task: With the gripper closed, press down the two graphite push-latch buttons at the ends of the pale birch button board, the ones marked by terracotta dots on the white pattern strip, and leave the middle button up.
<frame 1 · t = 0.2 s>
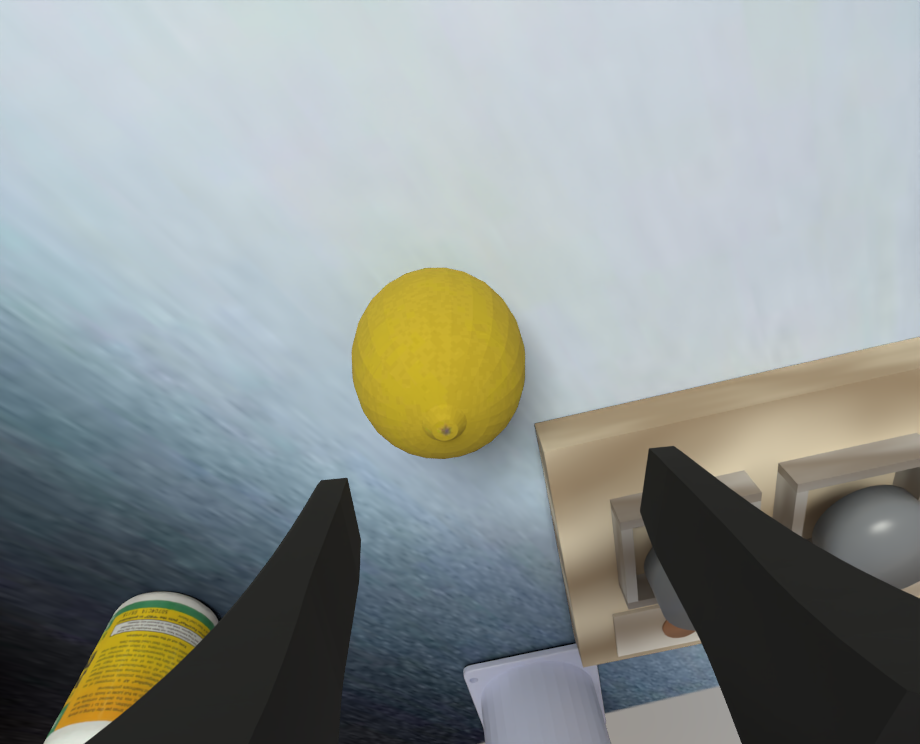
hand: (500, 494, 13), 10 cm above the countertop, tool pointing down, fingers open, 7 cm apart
button mid: (879, 540, 23), point 5 cm above the countertop, slide at 0.0 cm
supplement bottle: (171, 617, 29), on the countertop
lemon: (433, 306, 21), on the countertop
button 1: (703, 577, 23), point 5 cm above the countertop, slide at 0.0 cm
button board: (807, 490, 28), on the countertop
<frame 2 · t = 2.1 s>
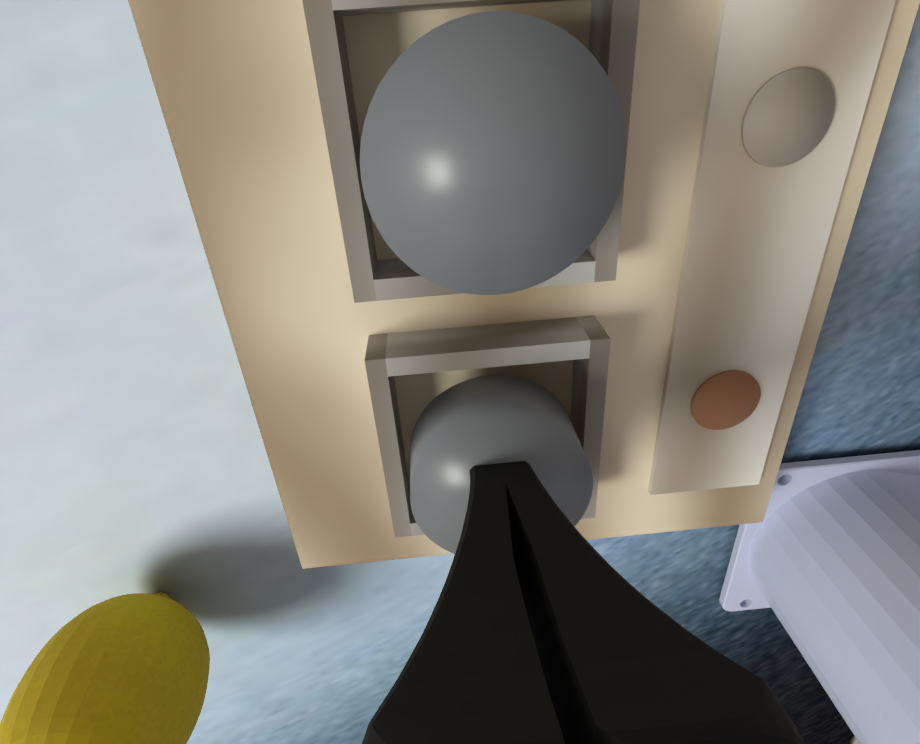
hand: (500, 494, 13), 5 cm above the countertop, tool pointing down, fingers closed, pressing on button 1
button mid: (487, 160, 10), point 5 cm above the countertop, slide at 0.0 cm
lemon: (164, 591, 22), on the countertop
button 1: (496, 469, 14), point 4 cm above the countertop, slide at 0.3 cm, touching gripper
button board: (524, 127, 14), on the countertop
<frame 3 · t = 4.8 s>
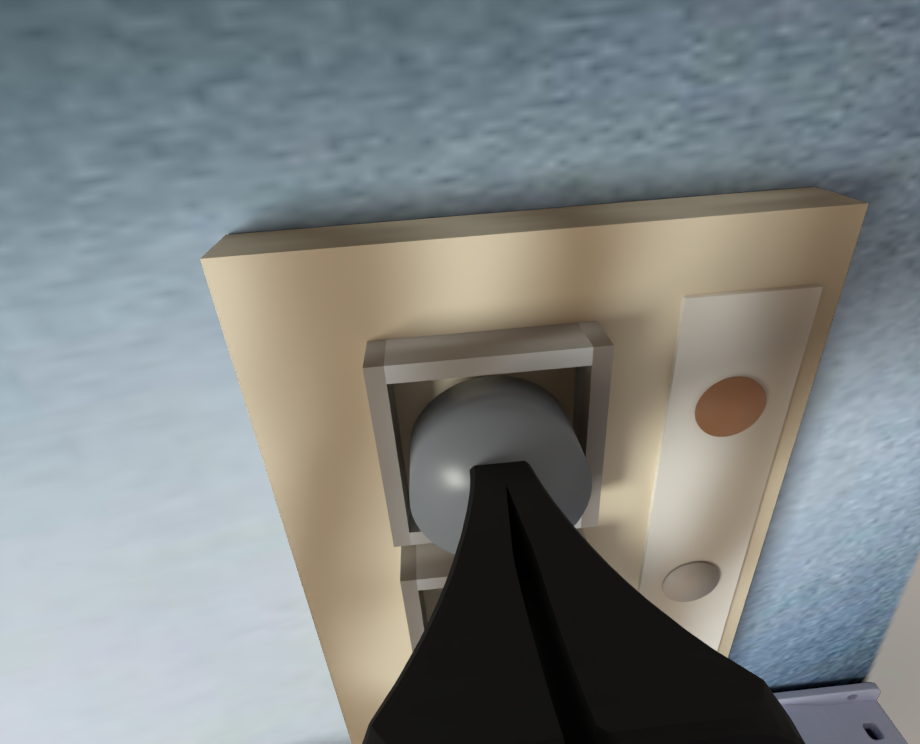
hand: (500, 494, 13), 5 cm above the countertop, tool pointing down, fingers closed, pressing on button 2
button 2: (496, 469, 14), point 4 cm above the countertop, slide at 0.7 cm, touching gripper
button board: (526, 548, 21), on the countertop
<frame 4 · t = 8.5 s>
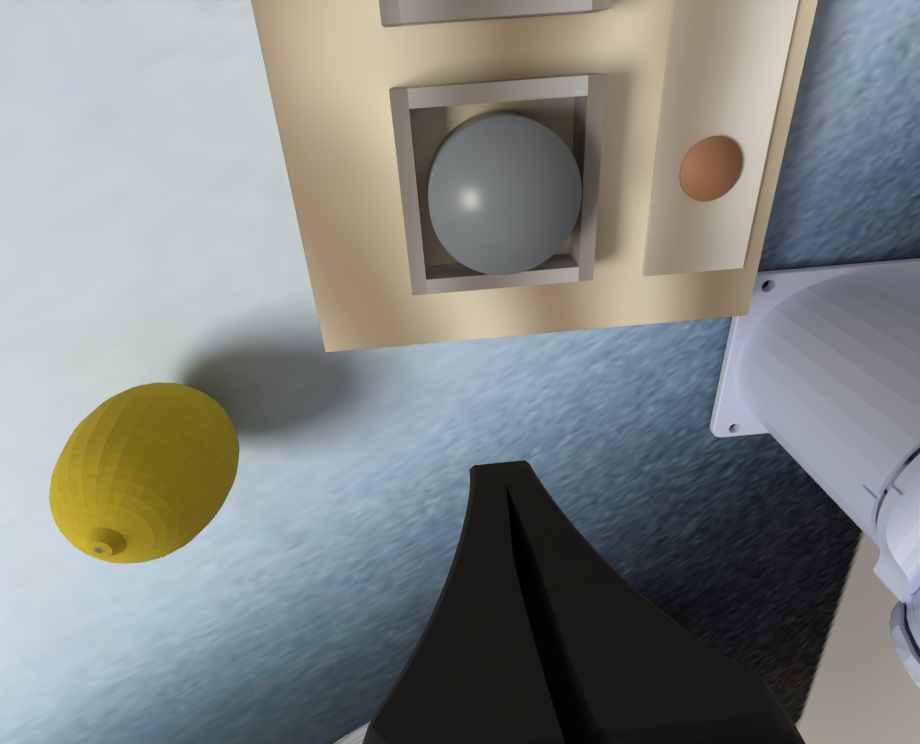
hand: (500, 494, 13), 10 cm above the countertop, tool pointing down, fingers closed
lemon: (194, 402, 23), on the countertop
button 1: (500, 194, 16), point 3 cm above the countertop, slide at 1.2 cm
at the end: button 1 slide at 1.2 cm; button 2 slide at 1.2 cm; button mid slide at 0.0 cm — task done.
